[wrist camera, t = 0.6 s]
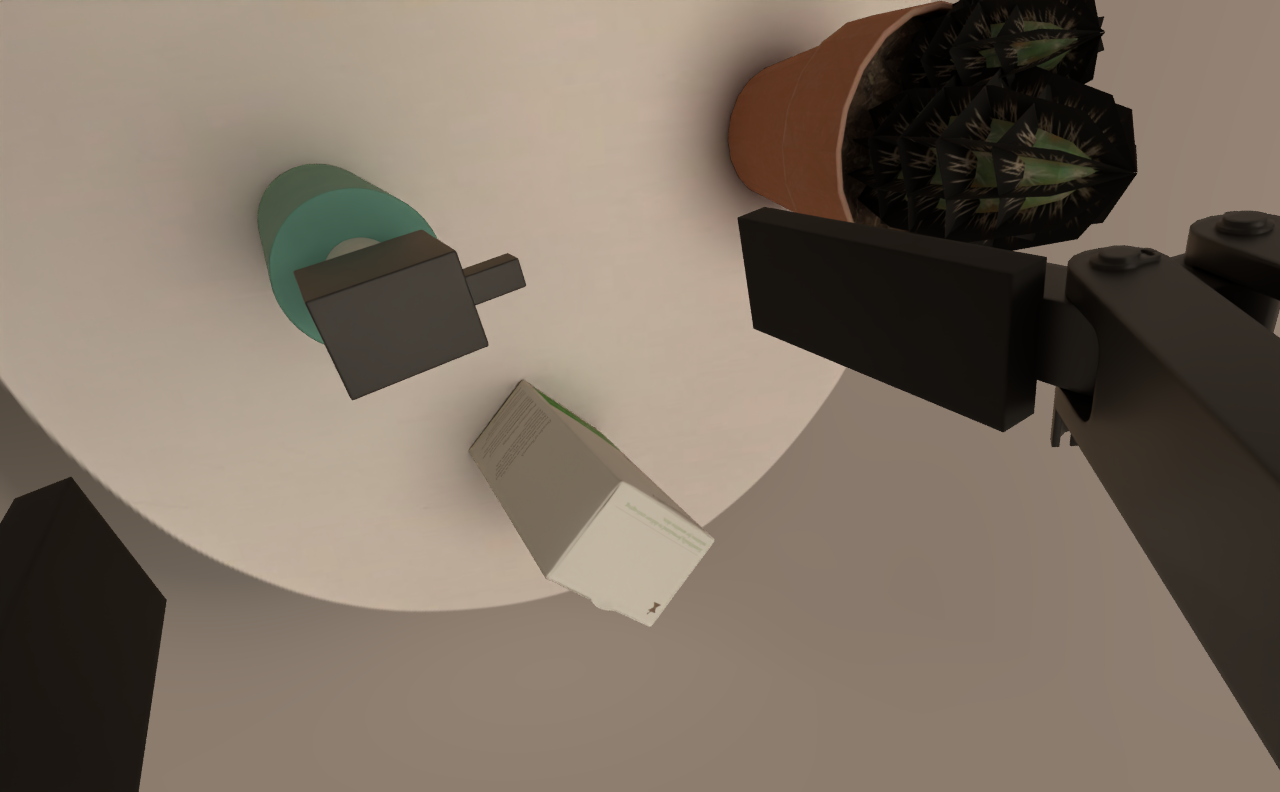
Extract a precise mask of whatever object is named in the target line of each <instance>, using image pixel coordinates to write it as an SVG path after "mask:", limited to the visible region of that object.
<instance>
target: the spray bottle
mask: <svg viewBox="0 0 1280 792" xmlns="http://www.w3.org/2000/svg"><path fill="white" fill-rule="evenodd" d="M258 228H259V233H260V238H261V242H262V246H263V251H264V255H265V260H266V264H267V269H268V273H269V277H270V282H271V285H272V289H273V292H274V295H275V297H276V300H277V302H278V304H279V305H280V307H281V309H282V310H283V312H284V313H285V315H286V316H287V317H288V318H289V320H290V321H291V322H292V323H293V324H294V325H295V326H296V327H297V328H298V329H299V330H301V331H302V332H303V333H305V334H306V335H307V336H309V337H311V338H312V339H314V340H316V341H318V342H320V343H322V344H324V345H325V346H326V348H327V350H328V353H329V355H330V357H331V359H332V361H333V363H334V365H335V367H336V369H337V371H338V373H339V375H340V377H341V379H342V382H343V384H344V386H345V388H346V390H347V392H348V394H349V396H350V398H351V399H352V400H355V399H357V398H360V397H362V396H365V395H367V394H370V393H372V392H375V391H377V390H380V389H382V388H385V387H387V386H390V385H392V384H395V383H397V382H400V381H402V380H405V379H407V378H410V377H412V376H415V375H417V374H420V373H422V372H425V371H427V370H430V369H432V368H435V367H437V366H439V365H442V364H444V363H447V362H449V361H452V360H454V359H457V358H459V357H462V356H464V355H467V354H469V353H472V352H474V351H477V350H479V349H482V348H484V347H487V346H488V341H487V338H486V335H485V332H484V329H483V327H482V324H481V321H480V318H479V315H478V312H477V309H476V307H475V305H478V304H480V303H483V302H486V301H488V300H491V299H494V298H496V297H499V296H502V295H504V294H507V293H510V292H512V291H515V290H518V289H520V288H523V287H525V286H526V283H525V280H524V276H523V273H522V270H521V267H520V263H519V260H518V258H516V257H514V256H512V255H510V254H509V253H507V254H504V255H501V256H498V257H496V258H493V259H490V260H487V261H484V262H481V263H479V264H476V265H473V266H470V267H467V268H465V269H462V267H461V264H460V261H459V258H458V255H457V252H456V251H455V250H453V249H452V248H450V247H449V246H447V245H446V244H444V243H443V242H441V241H439V240H438V239H437V237H436V235H435V234H434V232H433V230H432V229H431V227H430V226H429V225H428V223H427V222H426V221H425V219H424V218H423V217H422V216H421V215H420V214H419V213H418V212H417V211H415V210H414V209H413V208H412V207H410V206H409V205H408V204H406V203H404V202H403V201H401V200H399V199H398V198H396V197H394V196H392V195H391V194H389V193H387V192H385V191H383V190H382V189H380V188H378V187H376V186H374V185H372V184H371V183H369V182H367V181H365V180H363V179H362V178H360V177H358V176H356V175H354V174H353V173H351V172H349V171H347V170H344V169H342V168H339V167H336V166H331V165H326V164H307V165H302V166H298V167H295V168H292V169H290V170H288V171H286V172H284V173H283V174H281V175H280V176H278V177H277V178H276V179H275V180H274V181H273V182H272V183H271V184H270V185H269V187H268V188H267V189H266V191H265V193H264V195H263V196H262V199H261V202H260V205H259V210H258Z"/></svg>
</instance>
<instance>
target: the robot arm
mask: <svg viewBox="0 0 1280 792" xmlns="http://www.w3.org/2000/svg"><path fill="white" fill-rule="evenodd" d="M738 224H739V231H740V238H741V245H742V252H743V259H744V265H745V272H746V279H747V286H748V293H749V300H750V307H751V314H752V321H753V328H754V329H756V330H759V331H761V332H763V333H766V334H768V335H771V336H773V337H775V338H778V339H780V340H783V341H785V342H787V343H790V344H792V345H795V346H797V347H799V348H802V349H804V350H807V351H809V352H811V353H814V354H816V355H819V356H821V357H824V358H826V359H828V360H831V361H833V362H836V363H838V364H840V365H843V366H845V367H848V368H850V369H852V370H855V371H857V372H860V373H862V374H864V375H867V376H869V377H872V378H874V379H876V380H879V381H881V382H884V383H886V384H888V385H891V386H893V387H896V388H898V389H901V390H903V391H905V392H908V393H911V394H912V395H915V396H917V397H920V398H922V399H925V400H927V401H930V402H932V403H934V404H937V405H939V406H942V407H944V408H946V409H948V410H951V411H953V412H956V413H958V414H961V415H963V416H966V417H968V418H970V419H972V420H975V421H977V422H980V423H982V424H985V425H987V426H990V427H992V428H994V429H996V430H999V431H1001V432H1005V431H1006V430H1008V429H1010V428H1011V427H1013V426H1014V425H1016V424H1018V423H1019V422H1021V421H1022V420H1024V419H1026V418H1027V417H1029V416H1030V415H1032V414H1034V407H1035V406H1034V405H1035V395H1036V383H1037V380H1039V381H1042V382H1045V383H1049V384H1051V385H1054V386H1056V388H1055V398H1054V409H1053V419H1052V428H1051V438H1050V440H1051V445H1052V447H1059V443H1060V437H1061V436H1062V435H1063V434H1064V433H1065V432H1067V431H1070V433H1071V437H1070V446H1079V447H1080V449H1081V451H1082V452H1083V454H1084V455H1085V457H1086V459H1087V460H1088V462H1089V463H1090V465H1091V466H1092V468H1093V470H1094V471H1095V473H1096V474H1097V476H1098V478H1099V480H1100V481H1101V483H1102V484H1103V486H1104V488H1105V489H1106V491H1107V492H1108V494H1109V495H1110V497H1111V499H1112V500H1113V502H1114V503H1115V505H1116V507H1117V509H1118V510H1119V512H1120V513H1121V515H1122V516H1123V518H1124V520H1125V521H1126V523H1127V525H1128V526H1129V528H1130V529H1131V531H1132V533H1133V534H1134V536H1135V537H1136V539H1137V541H1138V542H1139V544H1140V545H1141V547H1142V549H1143V550H1144V552H1145V553H1146V555H1147V557H1148V558H1149V560H1150V561H1151V563H1152V565H1153V566H1154V568H1155V570H1156V571H1157V573H1158V575H1159V576H1160V578H1161V579H1162V581H1163V583H1164V584H1165V586H1166V587H1167V589H1168V591H1169V592H1170V594H1171V595H1172V597H1173V599H1174V600H1175V602H1176V603H1177V605H1178V607H1179V608H1180V610H1181V612H1182V613H1183V615H1184V616H1185V618H1186V620H1187V621H1188V623H1189V624H1190V626H1191V628H1192V629H1193V631H1194V633H1195V634H1196V636H1197V637H1198V639H1199V641H1200V642H1201V644H1202V645H1203V647H1204V649H1205V650H1206V652H1207V653H1208V655H1209V657H1210V658H1211V660H1212V662H1213V663H1214V664H1215V666H1216V668H1217V670H1218V671H1219V673H1220V674H1221V676H1222V678H1223V679H1224V681H1225V682H1226V684H1227V685H1228V687H1229V689H1230V690H1231V692H1232V694H1233V695H1234V697H1235V698H1236V700H1237V702H1238V703H1239V705H1240V707H1241V708H1242V710H1243V711H1244V713H1245V715H1246V716H1247V718H1248V719H1249V721H1250V723H1251V724H1252V726H1253V727H1254V729H1255V731H1256V732H1257V734H1258V736H1259V737H1260V739H1261V740H1262V742H1263V743H1264V745H1265V747H1266V748H1267V750H1268V752H1269V753H1270V755H1271V757H1272V758H1273V759H1274V761H1275V763H1276V765H1277V766H1278V768H1279V769H1280V338H1279V337H1278V336H1276V335H1275V334H1274V333H1273V332H1274V328H1275V325H1276V321H1277V317H1278V314H1279V310H1280V216H1277V215H1271V214H1267V213H1263V212H1258V211H1233V212H1226V213H1225V214H1223V215H1217V216H1210V217H1207V218H1204V219H1201V220H1197V221H1196V222H1195V223H1193V224H1192V225H1191V226H1190V230H1189V235H1188V241H1187V246H1186V252H1185V254H1181V255H1177V256H1174V257H1169V256H1167V255H1164V254H1162V253H1160V252H1158V251H1156V250H1154V249H1151V248H1139V247H1132V246H1125V245H1124V246H1110V247H1105V248H1098V249H1093V250H1088V251H1084V252H1082V253H1079V254H1077V255H1074V256H1073V257H1072V258H1071V259H1070V260H1069V261H1068V266H1062V265H1057V264H1052V263H1046V262H1047V257H1043V256H1038V255H1032V254H1027V253H1021V252H1015V251H1010V250H1004V249H998V248H993V247H987V246H982V245H976V244H970V243H965V242H959V241H953V240H948V239H942V238H936V237H931V236H925V235H919V234H914V233H908V232H903V231H897V230H891V229H886V228H880V227H874V226H869V225H863V224H857V223H852V222H846V221H840V220H835V219H829V218H824V217H818V216H812V215H807V214H801V213H795V212H790V211H784V210H778V209H773V208H767V207H763V208H761V209H758V210H756V211H753V212H751V213H748V214H745V215H743V216H740V217H738ZM165 607H166V599H165V597H164V596H163V595H162V594H161V592H160V591H159V590H158V588H157V587H156V586H155V584H154V583H153V582H152V580H151V579H150V578H149V577H148V575H147V574H146V573H145V571H144V570H143V569H142V568H141V566H140V565H139V564H138V562H137V561H136V560H135V559H134V557H133V556H132V555H131V554H130V552H129V551H128V550H127V548H126V547H125V546H124V544H123V543H122V542H121V540H120V539H119V538H118V537H117V535H116V534H115V533H114V532H113V530H112V529H111V528H110V526H109V525H108V524H107V522H106V521H105V520H104V518H103V517H102V516H101V515H100V513H99V512H98V511H97V509H96V508H95V507H94V506H93V504H92V503H91V502H90V501H89V499H88V498H87V497H86V495H85V494H84V493H83V491H82V490H81V489H80V487H79V486H78V485H77V484H76V482H75V481H74V480H73V478H72V477H69V478H67V479H64V480H61V481H59V482H56V483H54V484H51V485H49V486H46V487H43V488H41V489H38V490H36V491H33V492H31V493H28V494H26V495H23V496H21V497H18V498H15V499H14V501H13V503H12V504H11V506H10V508H9V509H8V511H7V513H6V515H5V516H4V518H3V520H2V522H1V523H0V792H139V785H140V778H141V771H142V764H143V757H144V751H145V744H146V737H147V730H148V723H149V717H150V710H151V703H152V696H153V689H154V683H155V676H156V669H157V662H158V655H159V648H160V641H161V635H162V628H163V621H164V614H165Z"/></svg>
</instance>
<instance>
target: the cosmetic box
mask: <svg viewBox="0 0 1280 792" xmlns="http://www.w3.org/2000/svg"><path fill="white" fill-rule="evenodd" d="M469 453H470V454H471V456H472V457H473V459H474V461H475V462H476V464H477V465H478V467H479V469H480V470H481V472H482V473H483V475H484V477H485V478H486V480H487V482H488V483H489V485H490V487H491V488H492V490H493V492H494V493H495V495H496V497H497V498H498V500H499V502H500V503H501V505H502V507H503V508H504V510H505V512H506V513H507V515H508V517H509V518H510V520H511V522H512V523H513V525H514V527H515V528H516V530H517V532H518V533H519V535H520V537H521V538H522V540H523V542H524V543H525V545H526V546H527V548H528V550H529V551H530V553H531V555H532V557H533V558H534V560H535V561H536V563H537V565H538V566H539V568H540V570H541V571H542V573H543V575H544V576H545V578H546V579H547V580H550V581H553V582H555V583H557V584H559V585H561V586H563V587H565V588H567V589H569V590H571V591H573V592H575V593H577V594H579V595H581V596H583V597H585V598H587V599H589V600H591V601H592V602H593V604H594V605H595V606H596V607H598V608H600V609H602V610H609V611H612V610H613V611H615V612H618V613H620V614H622V615H624V616H626V617H628V618H631V619H633V620H635V621H637V622H639V623H642V624H644V625H647V626H649V627H651V626H652V625H653V623H654V622H655V621H656V619H657V618H658V616H659V615H660V614H661V613H662V611H663V610H664V609H665V607H666V606H667V604H668V603H669V602H670V600H671V599H672V598H673V596H674V595H675V594H676V592H677V591H678V589H679V588H680V586H681V585H682V584H683V583H684V581H685V580H686V579H687V577H688V576H689V575H690V573H691V572H692V571H693V569H694V568H695V567H696V565H697V564H698V563H699V561H700V560H701V559H702V557H703V556H704V555H705V553H706V552H707V551H708V549H709V547H710V546H711V545H712V544H713V542H714V541H715V540H714V538H713V537H711V536H710V535H709V534H708V533H707V532H706V531H705V530H704V529H703V528H702V527H701V526H700V525H699V524H697V523H696V522H695V521H694V520H693V519H692V518H691V517H690V516H689V515H688V514H687V513H686V512H685V511H684V510H683V509H682V508H681V507H679V506H678V505H677V504H676V503H675V502H674V501H673V500H672V499H671V498H670V497H669V496H668V495H667V494H666V493H665V492H664V491H662V490H661V489H660V488H659V487H658V486H657V485H656V484H655V483H654V482H653V481H652V480H651V479H650V478H649V477H648V476H646V475H645V474H644V473H643V472H642V471H641V470H640V469H639V468H638V467H637V466H636V465H635V464H634V463H633V462H632V461H631V460H629V459H628V458H627V457H626V456H625V455H624V454H623V453H622V452H621V451H620V450H619V449H618V448H617V447H616V446H615V445H614V444H613V443H612V442H611V441H610V440H609V439H607V438H606V437H605V436H604V435H603V434H602V433H601V432H600V431H598V430H597V429H595V428H594V427H592V426H591V425H589V424H588V423H587V422H585V421H584V420H582V419H581V418H579V417H578V416H576V415H575V414H573V413H572V412H570V411H569V410H567V409H566V408H564V407H563V406H561V405H560V404H558V403H557V402H555V401H554V400H552V399H551V398H549V397H548V396H546V395H545V394H543V393H542V392H540V391H539V390H538V389H536V388H535V387H533V386H532V385H530V384H529V383H528V382H526V381H524V380H523V381H521V382H520V384H519V385H518V386H517V388H516V389H515V390H514V392H513V393H512V394H511V396H510V397H509V398H508V400H507V401H506V402H505V404H504V405H503V406H502V408H501V409H500V410H499V412H498V413H497V414H496V416H495V417H494V418H493V420H492V421H491V422H490V424H489V425H488V426H487V428H486V429H485V430H484V431H483V433H482V434H481V435H480V437H479V438H478V439H477V441H476V442H475V443H474V445H473V446H472V447H471V448H470V450H469Z"/></svg>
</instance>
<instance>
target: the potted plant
mask: <svg viewBox="0 0 1280 792" xmlns="http://www.w3.org/2000/svg"><path fill="white" fill-rule="evenodd" d="M1103 18H1104V17H1098V16H1097V10H1096V6H1095V0H959V2H957V3H954V4H952V3H948V2H944V1H937V2H933V3H928V4H924V5H919V6H914V7H910V8H905V9H900V10H896V11H891V12H887V13H882V14H877V15H873V16H869V17H866V18H862V19H858V20H855V21H851V22H848V23H846V24H845V25H844V26H842V27H841V28H840V29H838V30H837V31H836V32H835V33H833V34H832V35H831V36H829V37H828V38H827V39H826V40H824V41H823V42H822V43H821V44H820V46H817V47H815V48H812V49H810V50H808V51H805V52H803V53H800V54H798V55H796V56H793V57H791V58H788V59H786V60H784V61H781V62H779V63H776V64H774V65H772V66H769V67H767V68H764V69H763V70H762V71H760V72H759V73H758V74H757V75H755V76H754V77H753V78H751V79H750V80H749V82H748V83H747V84H746V86H745V87H744V89H743V90H742V92H741V93H740V95H739V96H738V98H737V101H736V104H735V106H734V109H733V112H732V115H731V118H730V127H729V136H728V141H729V148H730V156H731V161H732V163H733V165H734V168H735V170H736V172H737V175H738V177H739V178H740V179H741V180H742V181H743V182H744V183H745V185H746V186H747V187H748V188H749V189H751V190H752V191H754V192H756V193H758V194H760V195H762V196H764V197H766V198H768V199H770V200H772V201H774V202H776V203H777V204H779V205H781V206H783V207H785V208H787V209H789V210H791V211H793V212H795V213H801V214H807V215H812V216H818V217H824V218H829V219H835V220H840V221H846V222H852V223H857V224H863V225H869V226H874V227H880V228H886V229H891V230H897V231H903V232H908V233H914V234H919V235H925V236H931V237H936V238H942V239H948V240H953V241H959V242H965V243H970V244H976V245H982V246H987V247H993V248H998V249H1004V250H1010V251H1013V250H1019V249H1025V248H1030V247H1035V246H1041V245H1047V244H1052V243H1058V242H1064V241H1069V240H1075V239H1078V238H1079V237H1080V236H1081V235H1082V234H1083V232H1084V231H1085V230H1086V229H1087V228H1088V227H1089V226H1090V225H1091V224H1097V223H1103V222H1104V220H1105V219H1106V217H1107V216H1108V215H1109V213H1110V212H1111V210H1112V209H1113V207H1114V206H1115V205H1116V203H1117V202H1118V200H1119V199H1120V197H1121V196H1122V195H1123V193H1124V192H1125V190H1126V189H1127V187H1128V186H1129V184H1130V183H1131V182H1132V180H1133V179H1134V177H1135V176H1136V174H1137V173H1133V172H1137V154H1136V145H1135V140H1134V128H1133V116H1132V109H1130V108H1126V107H1124V106H1121V105H1119V104H1116V103H1115V101H1114V98H1113V95H1111V94H1108V93H1105V92H1103V91H1100V90H1098V89H1095V88H1093V87H1090V86H1087V85H1085V83H1087V82H1089V81H1091V80H1093V77H1094V71H1095V65H1096V60H1097V53H1098V52H1100V51H1103V50H1104V47H1103V43H1102V39H1101V36H1102V35H1103V34H1104V33H1105V32H1104V30H1102V29H1101V26H1102V22H1103ZM1101 32H1103V33H1101Z"/></svg>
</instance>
